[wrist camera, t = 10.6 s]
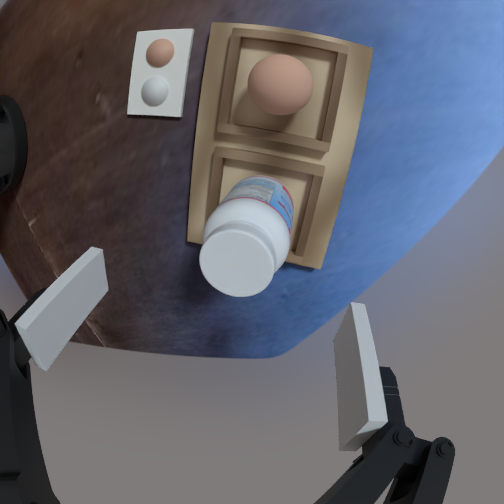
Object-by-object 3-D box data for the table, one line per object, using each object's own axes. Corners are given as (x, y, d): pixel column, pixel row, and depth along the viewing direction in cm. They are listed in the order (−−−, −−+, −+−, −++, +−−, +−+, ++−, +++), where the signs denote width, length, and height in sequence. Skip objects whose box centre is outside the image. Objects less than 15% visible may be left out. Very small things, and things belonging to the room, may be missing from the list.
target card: (129, 113, 26) (126, 114, 25) (139, 32, 22) (136, 31, 21) (182, 116, 26) (179, 117, 25) (194, 29, 21) (192, 28, 21)
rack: (191, 236, 32) (183, 245, 30) (215, 25, 21) (208, 19, 19) (320, 263, 31) (320, 274, 29) (370, 50, 20) (376, 46, 18)
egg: (248, 109, 23) (236, 110, 19) (257, 55, 21) (247, 44, 17) (306, 119, 23) (308, 122, 19) (316, 65, 21) (320, 56, 16)
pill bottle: (291, 236, 28) (283, 312, 19) (229, 231, 29) (191, 300, 19) (296, 175, 26) (292, 224, 16) (229, 170, 26) (183, 215, 17)
